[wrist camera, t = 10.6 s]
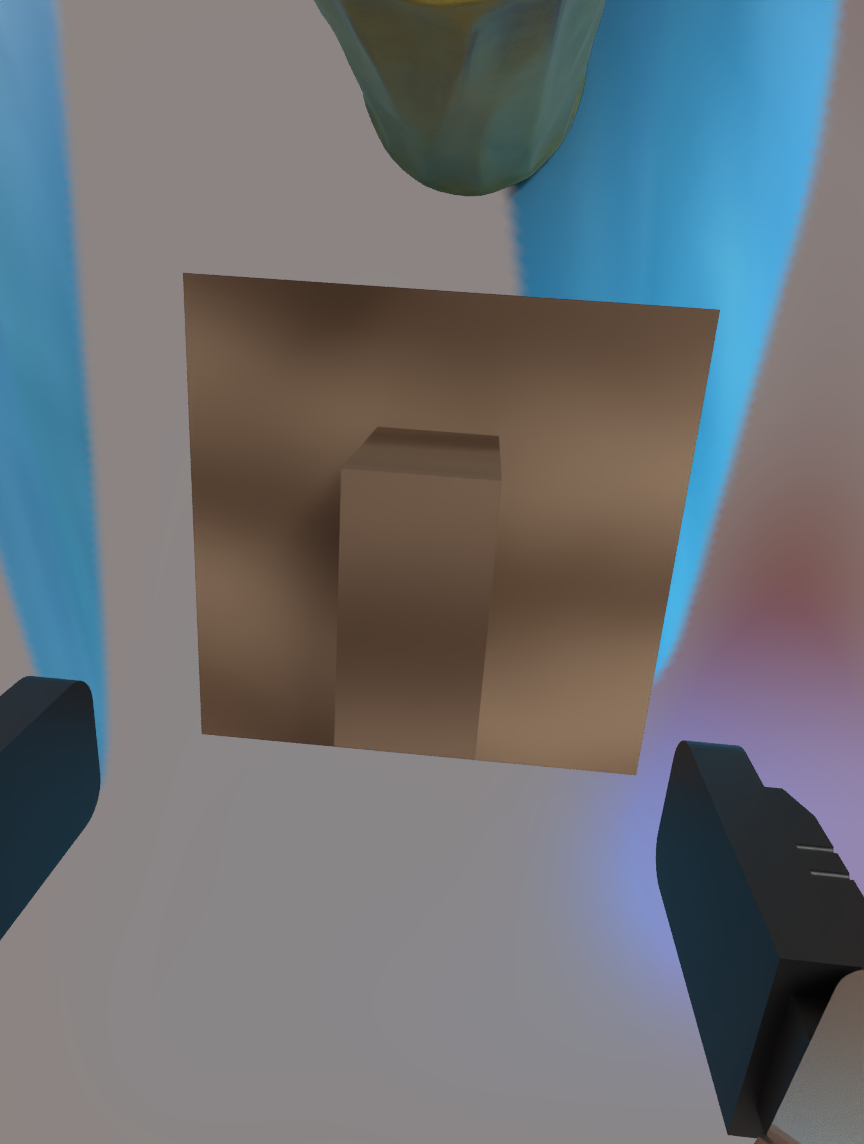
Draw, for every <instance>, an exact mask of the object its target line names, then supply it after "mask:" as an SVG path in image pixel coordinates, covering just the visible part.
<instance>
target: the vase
mask: <svg viewBox="0 0 864 1144" xmlns="http://www.w3.org/2000/svg"><path fill="white" fill-rule="evenodd" d="M314 1H315V3H316V5H317V6H318V8H319V10H320V12H321V13H322V15H323V16H324V18H325V19H326V20H327V22H328V23H329V25H330V26H331V28H332V29H333V31H334V33H335V35H336V36H337V38H338V40H339V42H340V45H341V46H342V49H343V51H344V53H345V56H346V57H347V60H348V62H349V65H350V67H351V69H352V71H353V73H354V75H355V77H356V79H357V81H358V83H359V85H360V87H361V90H362V92H363V96H364V100H365V105H366V108H367V110H368V113H369V116H370V118H371V121H372V123H373V126H374V128H375V130H376V132H377V134H378V136H379V138H380V140H381V142H382V144H383V146H384V148H385V149H386V150H387V152H388V153H389V155H390V156H391V158H392V159H393V160H394V161H395V162H396V163H397V164H398V165H399V166H400V167H401V168H402V169H403V170H404V171H405V172H406V173H408V174H409V175H410V176H412V177H413V178H414V179H415V180H417V181H418V182H420V183H422V184H423V185H425V186H427V187H430V188H432V189H435V190H437V191H440V192H445V193H449V194H454V195H462V196H481V195H486V194H490V193H494V192H496V191H499V190H501V189H504V188H507V187H509V186H512V185H514V184H517V183H519V182H521V181H523V180H525V179H527V178H529V177H530V176H531V175H533V174H534V173H535V172H536V171H537V170H538V169H539V168H540V167H541V166H542V165H543V164H544V163H545V162H546V161H547V160H548V159H549V158H550V157H551V156H552V155H553V154H554V152H555V151H556V150H557V149H558V148H559V146H560V145H561V144H562V142H563V140H564V139H565V137H566V135H567V133H568V131H569V129H570V127H571V125H572V122H573V120H574V117H575V115H576V112H577V109H578V106H579V103H580V100H581V96H582V92H583V88H584V84H585V80H586V72H585V71H586V68H587V65H588V61H589V57H590V53H591V50H592V46H593V43H594V39H595V36H596V33H597V30H598V26H599V23H600V20H601V17H602V14H603V11H604V7H605V3H606V0H314Z"/></svg>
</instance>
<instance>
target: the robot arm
mask: <svg viewBox="0 0 864 1144" xmlns="http://www.w3.org/2000/svg"><path fill="white" fill-rule="evenodd" d="M99 790H100V768H99V758H98V748H97V738H96V728H95V718H94V708H93V699H92V694H91V690H90V688H89V686H88V685H87V684H86V683H85V682H83V681H76V680H66V679H56V678H45V677H35V676H27V677H24V678H22V679H21V680H19V681H18V682H17V683H15V684H14V685H13V686H12V687H11V688H9V689H8V690H7V691H6V692H5V693H4V694H2V695H1V696H0V940H1V938H2V937H3V936H4V935H5V933H6V932H7V930H8V929H9V928H10V927H11V925H12V924H13V922H14V921H15V920H16V918H17V917H18V916H19V915H20V913H21V912H22V911H23V909H24V908H25V907H26V905H27V904H28V902H29V901H30V900H31V898H32V897H33V896H34V895H35V893H36V892H37V890H38V889H39V888H40V887H41V885H42V884H43V882H44V881H45V880H46V879H47V877H48V876H49V875H50V873H51V872H52V871H53V869H54V868H55V867H56V865H57V864H58V863H59V861H60V860H61V859H62V857H63V856H64V855H65V853H66V852H67V851H68V849H69V848H70V847H71V845H72V844H73V843H74V841H75V840H76V839H77V837H78V836H79V835H80V833H81V832H82V831H83V829H84V828H85V827H86V825H87V823H88V822H89V821H90V819H91V817H92V815H93V812H94V810H95V807H96V804H97V800H98V796H99ZM656 871H657V878H658V885H659V889H660V892H661V896H662V899H663V903H664V907H665V910H666V914H667V918H668V921H669V925H670V928H671V932H672V935H673V939H674V943H675V946H676V950H677V954H678V957H679V961H680V964H681V968H682V971H683V975H684V979H685V982H686V986H687V990H688V993H689V997H690V1000H691V1004H692V1007H693V1011H694V1015H695V1018H696V1022H697V1025H698V1029H699V1033H700V1036H701V1040H702V1043H703V1047H704V1051H705V1054H706V1058H707V1062H708V1065H709V1069H710V1072H711V1076H712V1080H713V1083H714V1087H715V1091H716V1094H717V1098H718V1101H719V1105H720V1108H721V1112H722V1116H723V1119H724V1123H725V1127H726V1130H727V1134H728V1135H733V1136H741V1137H751V1138H757V1140H756V1141H755V1143H754V1144H864V897H863V895H862V893H861V892H860V890H859V888H858V887H857V885H856V883H855V882H854V880H850V879H849V872H848V870H847V869H846V867H845V865H844V864H843V862H842V860H841V859H840V857H839V855H838V854H837V853H834V852H833V846H832V844H831V842H830V841H829V839H828V837H827V836H826V834H825V833H824V831H823V829H822V827H821V826H820V824H819V822H818V821H817V819H816V818H815V816H814V815H813V814H811V813H810V812H809V811H808V810H807V809H806V808H804V807H803V806H802V805H801V804H800V803H799V802H797V801H796V800H795V799H794V798H793V797H791V796H790V795H789V794H788V793H787V792H786V791H785V790H783V789H781V788H771V787H764V785H763V784H762V782H761V780H760V778H759V776H758V774H757V773H756V771H755V769H754V767H753V765H752V763H751V762H750V760H749V758H748V756H747V754H746V752H745V751H744V749H743V748H742V747H740V746H736V745H725V744H714V743H703V742H693V741H681V742H680V743H679V745H678V746H677V748H676V751H675V755H674V759H673V764H672V769H671V773H670V778H669V783H668V788H667V793H666V798H665V802H664V807H663V812H662V817H661V821H660V827H659V831H658V837H657V844H656Z"/></svg>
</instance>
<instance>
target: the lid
mask: <svg viewBox="0 0 864 1144" xmlns="http://www.w3.org/2000/svg"><path fill="white" fill-rule="evenodd" d="M183 282H184V306H185V330H186V353H187V380H188V405H189V429H190V454H191V478H192V501H193V502H192V503H193V526H194V551H195V576H196V599H197V600H196V601H197V624H198V648H199V649H198V650H199V674H200V697H201V724H202V734H209V735H219V736H229V737H239V738H250V739H260V740H271V741H281V742H292V743H302V744H314V745H324V746H335V747H345V748H355V749H366V750H376V751H387V752H397V753H408V754H418V755H429V756H439V757H450V758H461V759H471V760H481V761H492V762H503V763H513V764H524V765H534V766H544V767H556V768H565V769H566V768H567V769H576V770H588V771H597V772H608V773H618V774H629V775H636V772H637V767H638V761H639V756H640V750H641V744H642V739H643V733H644V728H645V722H646V717H647V711H648V706H649V700H650V695H651V689H652V684H653V678H654V673H655V667H656V661H657V656H658V650H659V645H660V639H661V634H662V628H663V623H664V617H665V612H666V606H667V600H668V595H669V589H670V584H671V578H672V573H673V567H674V562H675V556H676V551H677V545H678V540H679V534H680V528H681V523H682V517H683V512H684V506H685V501H686V495H687V490H688V484H689V479H690V473H691V467H692V462H693V456H694V451H695V445H696V440H697V434H698V429H699V423H700V418H701V412H702V407H703V401H704V395H705V390H706V384H707V379H708V373H709V368H710V362H711V357H712V351H713V346H714V340H715V334H716V329H717V323H718V318H719V312H720V310H715V309H701V308H686V307H671V306H657V305H642V304H628V303H613V302H599V301H584V300H569V299H555V298H540V297H526V296H511V295H496V294H481V293H468V292H453V291H438V290H424V289H409V288H395V287H380V286H365V285H351V284H335V283H322V282H306V281H293V280H292V281H291V280H277V279H264V278H249V277H234V276H220V275H205V274H191V273H183Z"/></svg>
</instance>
